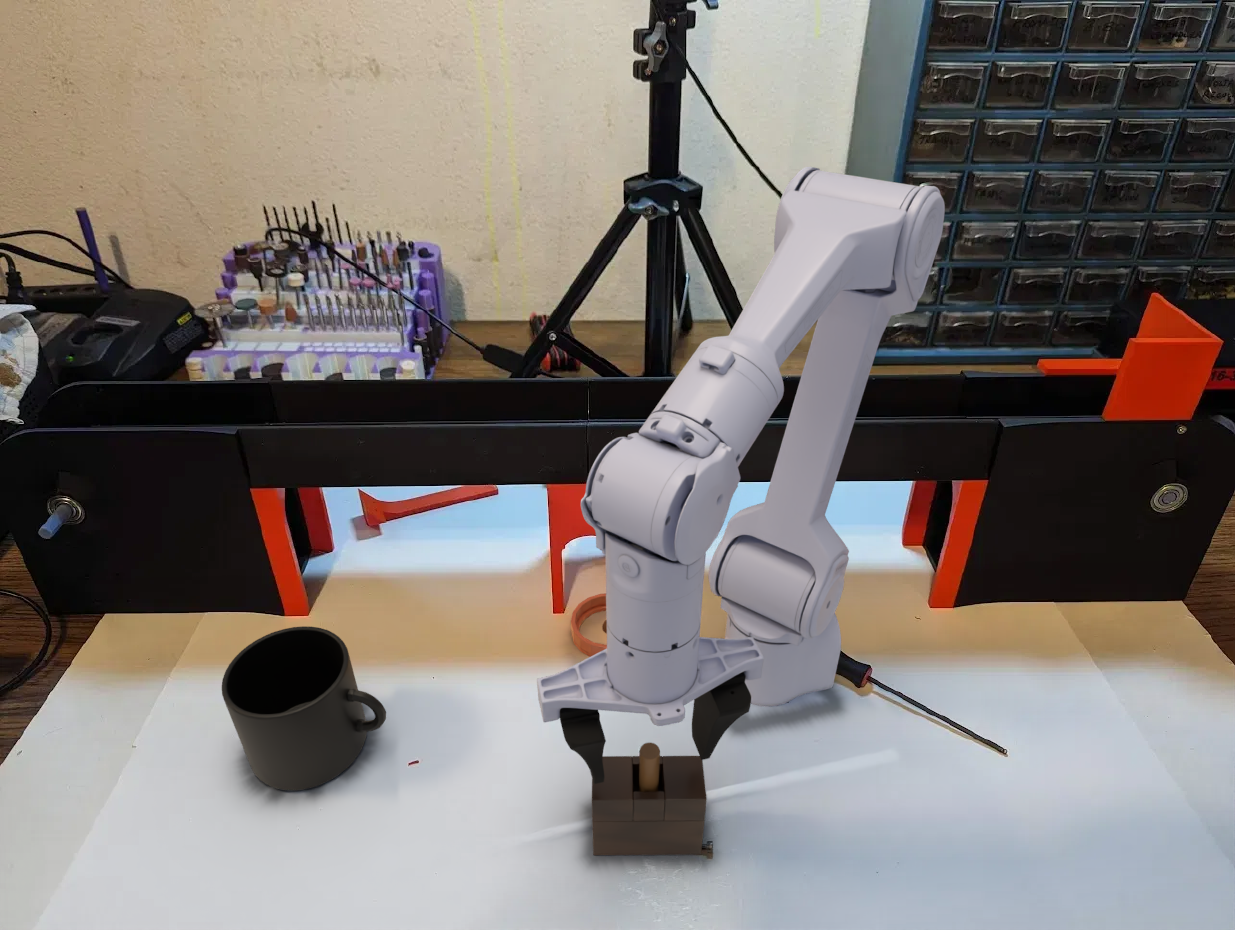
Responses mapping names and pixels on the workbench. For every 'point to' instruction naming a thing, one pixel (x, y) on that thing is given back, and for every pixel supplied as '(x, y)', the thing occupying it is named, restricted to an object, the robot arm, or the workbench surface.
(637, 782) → the stand
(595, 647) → the ring
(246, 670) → the mug
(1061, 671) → the workbench surface
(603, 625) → the ball
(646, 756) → the stick
